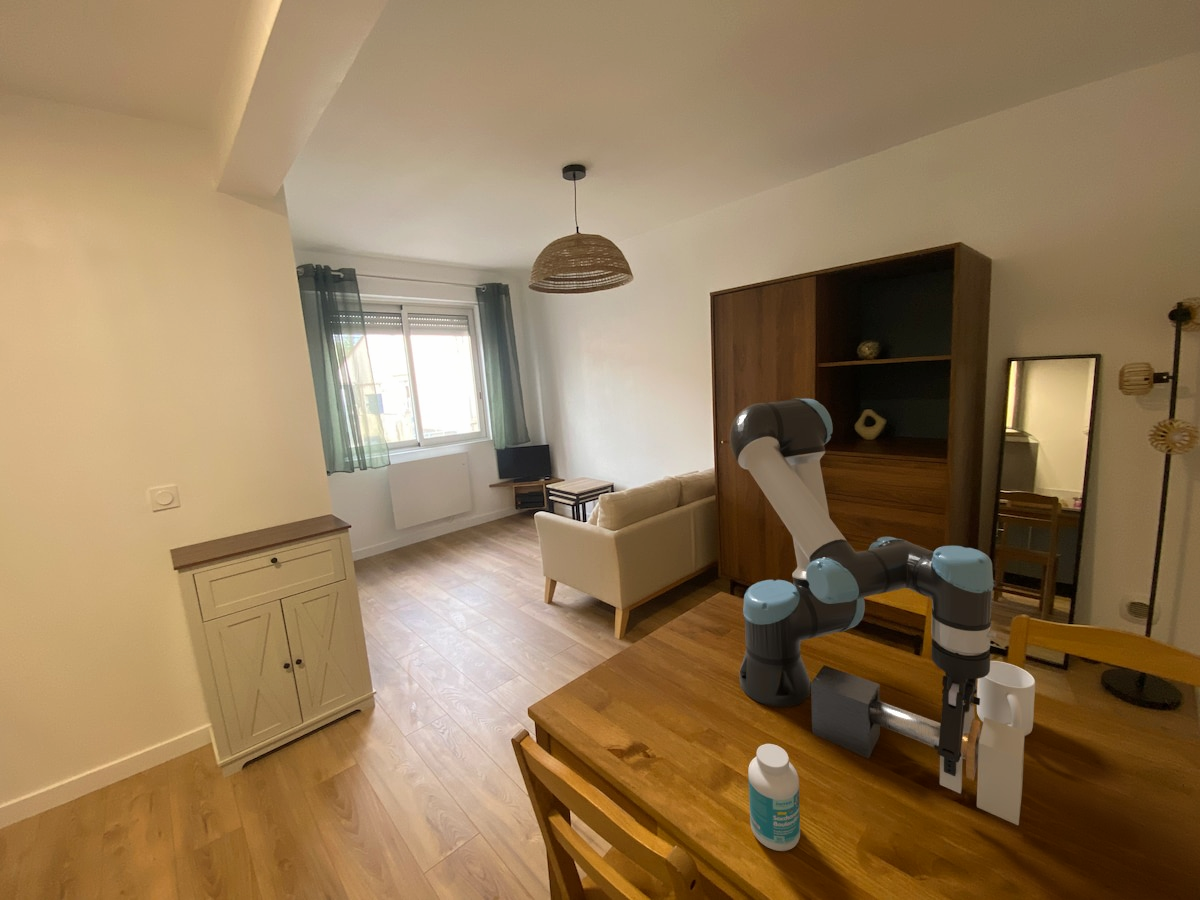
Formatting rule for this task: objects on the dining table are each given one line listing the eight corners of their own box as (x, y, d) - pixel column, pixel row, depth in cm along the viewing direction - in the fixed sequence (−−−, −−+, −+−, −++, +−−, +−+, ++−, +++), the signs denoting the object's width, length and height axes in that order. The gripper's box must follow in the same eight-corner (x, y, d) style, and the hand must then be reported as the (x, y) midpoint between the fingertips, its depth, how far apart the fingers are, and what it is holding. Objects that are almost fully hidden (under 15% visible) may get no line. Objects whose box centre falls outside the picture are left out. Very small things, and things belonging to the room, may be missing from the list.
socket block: (976, 806, 75) (978, 742, 74) (982, 778, 80) (984, 717, 79) (1018, 825, 72) (1021, 758, 70) (1021, 794, 77) (1024, 730, 75)
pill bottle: (780, 864, 70) (776, 784, 68) (740, 827, 76) (736, 752, 74) (811, 834, 74) (808, 757, 72) (770, 801, 80) (767, 729, 78)
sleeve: (812, 733, 93) (810, 682, 92) (825, 713, 98) (823, 665, 96) (868, 758, 86) (868, 704, 85) (879, 735, 91) (879, 684, 89)
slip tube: (857, 731, 87) (856, 700, 86) (867, 712, 92) (867, 682, 91) (998, 790, 73) (999, 754, 72) (1002, 764, 78) (1003, 729, 77)
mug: (1046, 758, 83) (1049, 705, 81) (986, 745, 87) (988, 694, 85) (1024, 713, 93) (1027, 665, 92) (972, 703, 97) (973, 657, 96)
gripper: (979, 694, 65) (975, 828, 68) (998, 617, 82) (994, 727, 85) (915, 673, 70) (914, 799, 73) (945, 605, 87) (943, 709, 91)
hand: (957, 760), depth 79 cm, fingers open, 13 cm apart
